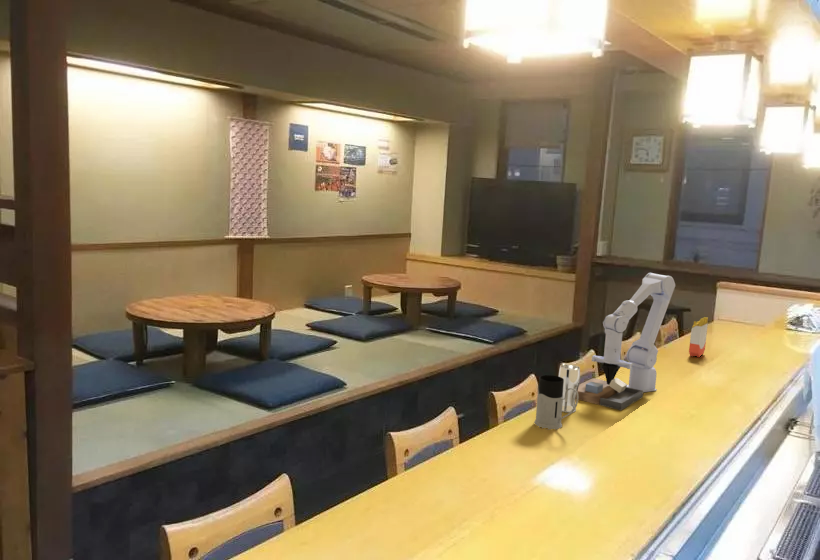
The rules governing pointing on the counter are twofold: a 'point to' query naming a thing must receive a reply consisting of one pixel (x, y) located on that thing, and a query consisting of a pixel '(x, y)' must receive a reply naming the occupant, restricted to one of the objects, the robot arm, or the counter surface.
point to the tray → (622, 398)
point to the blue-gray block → (594, 387)
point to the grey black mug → (551, 402)
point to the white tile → (618, 385)
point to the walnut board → (594, 397)
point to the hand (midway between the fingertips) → (609, 384)
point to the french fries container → (698, 337)
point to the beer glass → (569, 385)
